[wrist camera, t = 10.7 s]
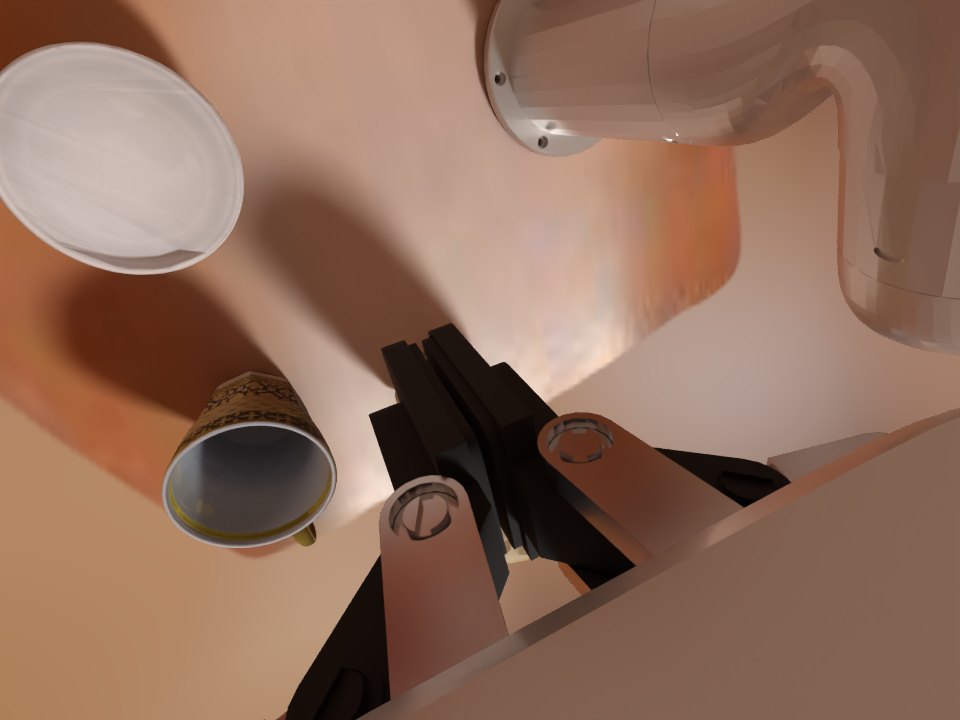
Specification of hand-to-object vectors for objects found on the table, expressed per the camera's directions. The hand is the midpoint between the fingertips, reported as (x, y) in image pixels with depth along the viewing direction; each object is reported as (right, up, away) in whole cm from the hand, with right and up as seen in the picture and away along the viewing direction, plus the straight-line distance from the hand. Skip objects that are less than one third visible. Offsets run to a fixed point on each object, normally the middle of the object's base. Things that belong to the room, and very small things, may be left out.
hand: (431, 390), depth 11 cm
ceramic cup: (-17, -4, +28) cm, 33 cm away
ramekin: (-19, +13, +18) cm, 29 cm away
